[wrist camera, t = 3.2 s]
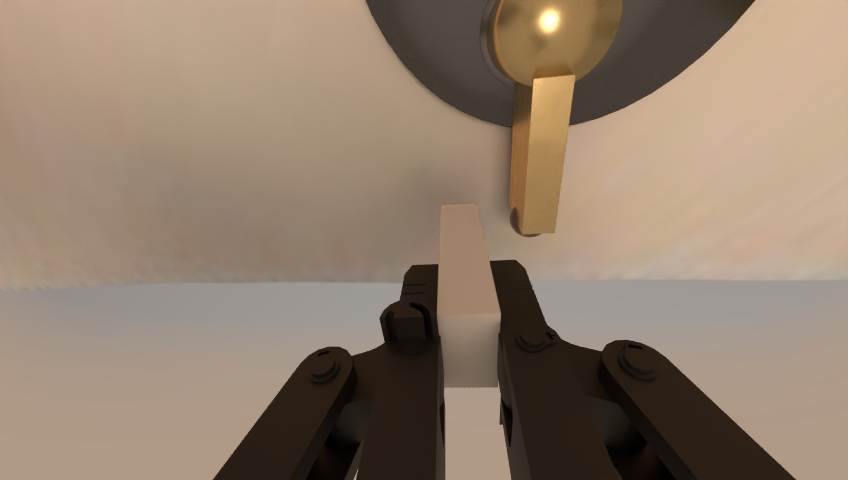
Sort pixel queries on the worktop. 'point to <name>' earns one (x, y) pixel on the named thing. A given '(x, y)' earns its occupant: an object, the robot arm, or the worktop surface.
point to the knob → (545, 90)
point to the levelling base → (593, 93)
